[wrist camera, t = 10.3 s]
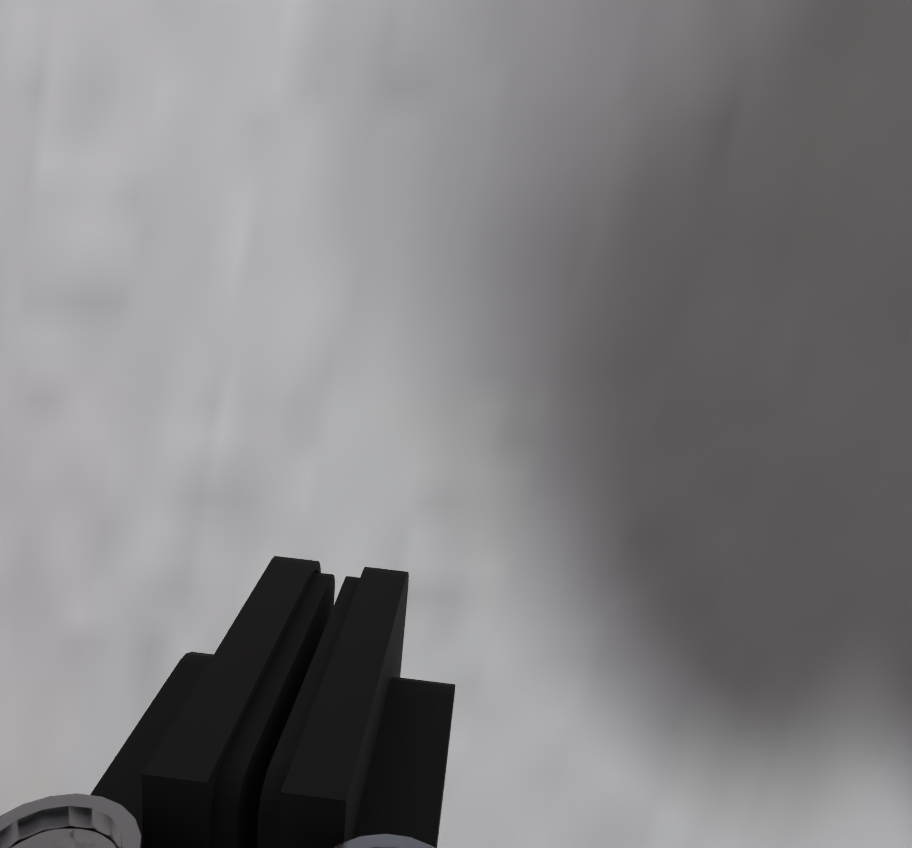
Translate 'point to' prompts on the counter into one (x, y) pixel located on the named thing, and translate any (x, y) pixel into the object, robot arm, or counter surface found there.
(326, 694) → the robot arm
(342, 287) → the counter surface
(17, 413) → the counter surface
